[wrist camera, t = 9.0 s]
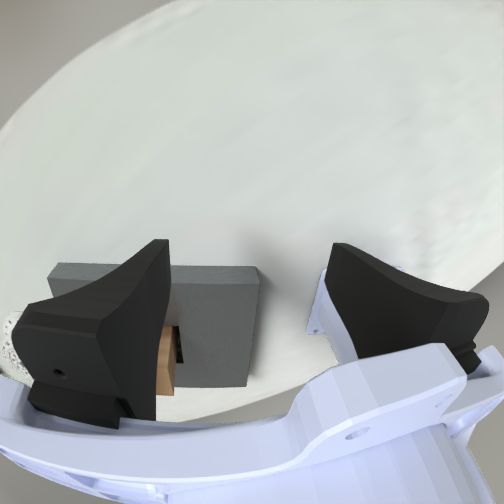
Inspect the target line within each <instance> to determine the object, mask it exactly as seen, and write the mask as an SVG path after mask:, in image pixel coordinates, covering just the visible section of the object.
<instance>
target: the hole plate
mask: <svg viewBox="0 0 504 504" xmlns="http://www.w3.org/2000/svg"><path fill="white" fill-rule="evenodd" d="M119 266H120V264H85V263H58V264H57V265H56V267H55V268H54V269H53V270H52V272H51V273H50V274H49V276H48V277H47V279H48V282H49V286H50V288H51V291H52V294H53V297H57V296H60V295H63V294H66V293H69V292H71V291H74V290H77V289H79V288H81V287H83V286H85V285H87V284H89V283H92V282H94V281H96V280H98V279H100V278H101V277H103V276H105V275H106V274H108V273H110V272H111V271H113V270H114V269H116V268H117V267H119ZM170 268H171V290H170V299H169V304H168V308H167V312H166V317H165V321H164V325H167V326H179V331H180V339H181V345H177V356H176V369H175V383H174V387H187V388H225V387H246V385H247V378H248V370H249V363H250V356H251V348H252V341H253V333H254V325H255V318H256V310H257V302H258V294H259V286H260V283H259V279H258V275H257V272H256V268H255V267H249V266H170Z"/></svg>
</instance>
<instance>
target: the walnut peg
mask: <svg viewBox="0 0 504 504" xmlns="http://www.w3.org/2000/svg"><path fill="white" fill-rule="evenodd" d="M177 344H178V334H177V326H167V325H163V330H162V334H161V339H160V344H159V351H158V363H157V379H156V395H165V396H174V383H175V369H176V356H177Z"/></svg>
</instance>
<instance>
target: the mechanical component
mask: <svg viewBox="0 0 504 504" xmlns="http://www.w3.org/2000/svg"><path fill="white" fill-rule="evenodd" d="M22 313H23V312H13V313H11V314H9V315H8V317H7V319H6V320H5V322H4V323H3V332H4V335H5V337H6V338H5V340H4V342H3V344H2V347H1V349H2V353H3V354H4V355H5V356H4V358H6V359H8V361H9V362H10V363H11V365H12V368H14V369H16V370H17V371H18V372H20V373H21V374H22V376H24V377H27V378H28V379H29V380H33V381H34V379H33V378H32V377H31V375H30V374H29V372H28V371H27V369H26V368H25V366H24V365H23V363H22V362H21V360H20V359H19V357H18V355H17V354H16V352H15V350H14V348H13V344H12V340H11V333H12V330H13V328H14V326H15V325H16V323H17V321H18V320H19V318H20V317H21V315H22Z"/></svg>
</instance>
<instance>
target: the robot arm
mask: <svg viewBox="0 0 504 504" xmlns="http://www.w3.org/2000/svg"><path fill="white" fill-rule="evenodd" d="M170 290H171V268H170V254H169V239H154V240H153V241H151V242H150V243H149V244H147V245H146V246H145V247H144V248H142V249H141V250H140V251H139V252H137V253H136V254H135V255H134V256H132V257H131V258H130V259H128V260H127V261H126V262H124V263H123V264H122V265H120V266H119V267H117V268H116V269H114V270H113V271H111V272H110V273H108V274H106V275H105V276H103V277H101V278H100V279H98V280H96V281H94V282H92V283H89V284H87V285H85V286H83V287H81V288H79V289H77V290H74V291H71V292H69V293H66V294H63V295H60V296H57V297H54V298H51V299H47V300H43V301H39V302H35V303H31V304H28V306H27V307H26V309H25V310H24V312H23V313H22V315H21V317H20V318H19V320H18V321H17V323H16V325H15V326H14V328H13V330H12V333H11V340H12V344H13V348H14V350H15V352H16V354H17V355H18V357H19V359H20V360H21V362H22V363H23V365H24V366H25V368H26V369H27V371H28V372H29V374H30V375H31V377H32V378H33V379H34V382H33V385H32V388H30V387H29V386H27V385H26V384H24V383H22V382H19V381H16V380H13V379H11V378H8V377H5V376H0V452H1V453H2V454H3V455H5V456H6V457H7V458H9V459H10V460H12V461H13V462H14V463H16V464H17V465H19V466H20V467H22V468H24V469H27V470H29V471H31V472H33V473H35V474H38V475H40V476H42V477H44V478H47V479H49V480H52V481H55V482H57V483H59V484H62V485H65V486H67V487H70V488H73V489H76V490H79V491H82V492H85V493H88V494H91V495H95V496H98V497H102V498H105V499H109V500H113V501H117V502H122V503H126V504H496V501H495V499H494V497H493V494H492V492H491V490H490V488H489V486H488V484H487V482H486V480H485V477H484V476H483V473H482V472H481V470H480V468H479V466H478V464H477V462H476V460H475V458H474V456H473V454H472V452H471V451H470V449H469V447H468V445H467V443H468V440H469V438H470V436H471V434H472V432H473V430H474V428H475V425H476V423H477V422H479V421H480V420H481V419H483V418H484V417H485V416H487V415H488V414H489V413H490V412H491V411H492V410H493V409H494V408H495V407H496V406H497V405H498V404H499V403H500V402H501V401H502V400H503V399H504V358H503V357H502V356H501V355H500V353H499V352H498V351H497V350H496V348H495V347H494V346H493V345H491V346H489V347H487V348H485V349H483V350H481V351H480V352H479V353H478V354H476V353H475V352H474V350H473V349H475V348H476V344H475V343H474V342H473V339H474V337H475V336H476V334H477V333H478V331H479V329H480V328H481V326H482V325H483V323H484V321H485V319H486V317H487V314H488V311H489V302H488V301H487V299H486V298H485V297H484V296H483V295H481V294H478V293H472V292H466V291H460V290H455V289H451V288H447V287H443V286H439V285H436V284H433V283H430V282H427V281H424V280H421V279H419V278H416V277H414V276H411V275H409V274H407V273H404V272H403V269H402V268H401V267H392V266H390V265H388V264H386V263H384V262H382V261H381V260H379V259H377V258H375V257H373V256H371V255H369V254H368V253H366V252H364V251H362V250H360V249H358V248H356V247H354V246H352V245H349V244H346V243H333V247H332V251H331V255H330V259H329V263H328V267H327V268H326V269H324V270H323V271H322V273H321V277H320V281H319V284H318V288H317V292H316V296H315V300H314V303H313V307H312V310H311V314H310V318H309V321H308V325H307V328H306V332H307V334H309V335H311V334H323V333H325V334H326V336H327V338H328V340H329V343H330V345H331V347H332V349H333V351H334V354H335V356H336V358H337V360H338V363H339V365H337V366H334V367H331V368H329V369H327V370H325V371H324V372H322V373H321V374H319V375H317V376H315V377H314V378H312V379H310V380H309V381H308V383H307V384H306V385H305V386H304V387H303V389H302V390H301V391H300V392H299V393H298V395H297V396H296V397H295V399H294V402H293V404H292V406H291V409H290V411H289V412H286V413H282V414H279V415H275V416H271V417H267V418H262V419H258V420H253V421H249V422H235V423H176V422H159V421H156V379H157V363H158V351H159V344H160V339H161V334H162V330H163V325H164V321H165V317H166V312H167V308H168V304H169V299H170Z"/></svg>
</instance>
